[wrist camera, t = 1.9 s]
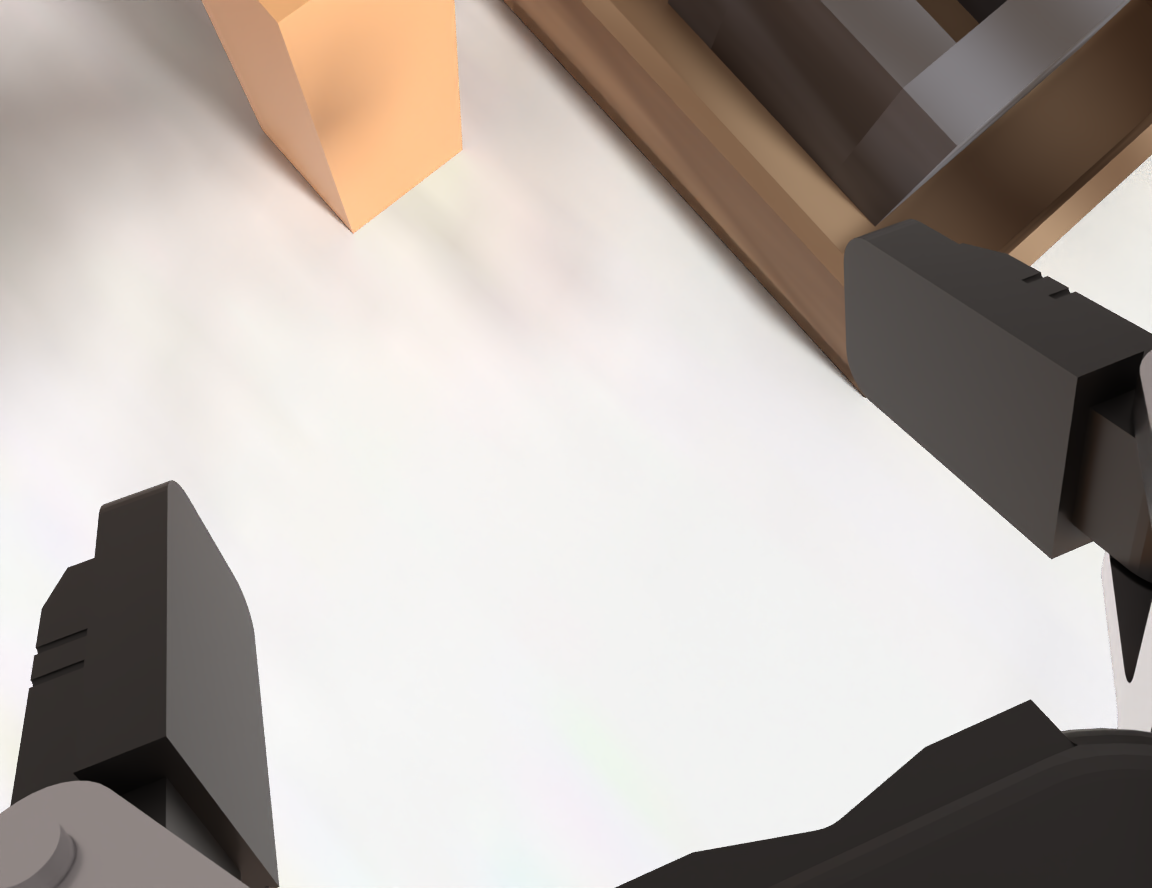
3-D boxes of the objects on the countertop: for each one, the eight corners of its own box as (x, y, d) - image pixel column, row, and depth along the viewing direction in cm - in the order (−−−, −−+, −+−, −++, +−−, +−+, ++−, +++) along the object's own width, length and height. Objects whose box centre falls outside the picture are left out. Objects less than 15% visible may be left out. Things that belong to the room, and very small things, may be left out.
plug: (372, 49, 28) (295, -328, 17) (462, 149, 28) (445, -165, 17) (262, 130, 28) (103, -208, 16) (353, 233, 27) (256, -35, 16)
